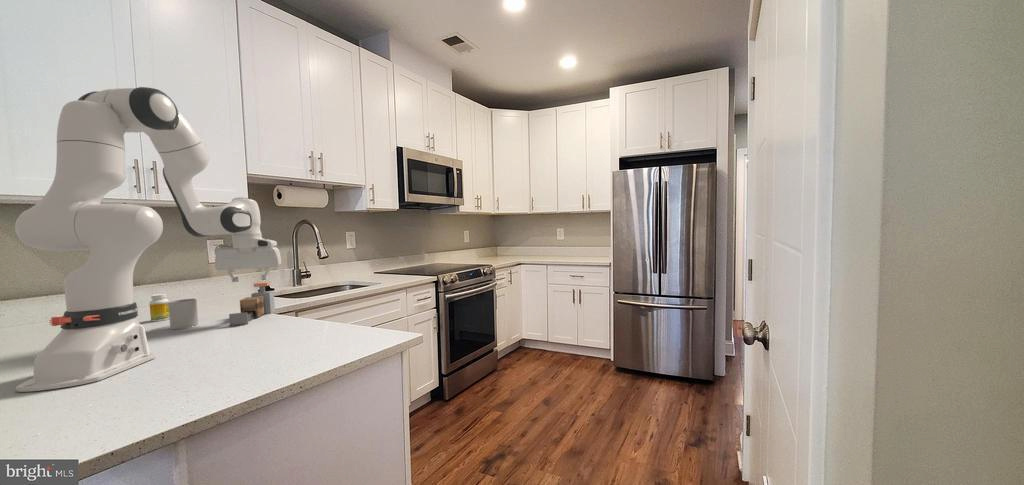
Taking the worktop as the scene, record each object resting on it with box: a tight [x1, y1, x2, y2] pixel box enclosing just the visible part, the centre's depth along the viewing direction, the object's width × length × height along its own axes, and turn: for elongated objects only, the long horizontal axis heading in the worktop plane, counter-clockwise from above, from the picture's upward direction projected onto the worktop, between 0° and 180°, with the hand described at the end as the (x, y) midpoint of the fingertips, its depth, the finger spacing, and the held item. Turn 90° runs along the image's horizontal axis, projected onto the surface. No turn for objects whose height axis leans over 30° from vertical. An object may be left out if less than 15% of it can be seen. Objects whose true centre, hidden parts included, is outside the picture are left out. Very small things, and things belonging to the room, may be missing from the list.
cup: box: [168, 298, 199, 330], centre depth 128 cm, size 7×10×9 cm
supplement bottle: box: [149, 293, 170, 323], centre depth 139 cm, size 5×5×10 cm
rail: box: [228, 310, 257, 327], centre depth 133 cm, size 16×5×4 cm, turn 16°
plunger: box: [253, 281, 271, 293], centre depth 143 cm, size 3×4×5 cm
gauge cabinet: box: [250, 290, 276, 315], centre depth 144 cm, size 4×6×8 cm
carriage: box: [239, 296, 265, 318], centre depth 137 cm, size 6×5×7 cm
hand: (250, 280), depth 136 cm, fingers open, 8 cm apart
